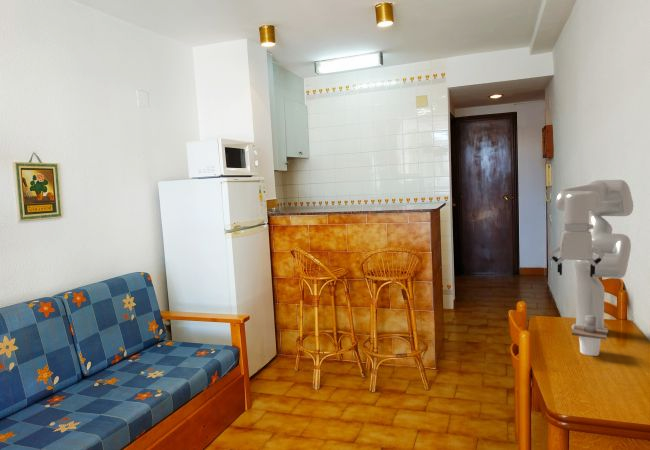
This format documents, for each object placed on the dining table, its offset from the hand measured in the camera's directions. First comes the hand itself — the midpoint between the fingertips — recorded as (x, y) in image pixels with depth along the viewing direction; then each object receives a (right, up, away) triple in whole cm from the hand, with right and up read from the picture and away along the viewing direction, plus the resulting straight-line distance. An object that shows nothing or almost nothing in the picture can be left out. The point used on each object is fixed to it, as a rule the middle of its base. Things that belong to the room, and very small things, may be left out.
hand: (575, 275), depth 163 cm
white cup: (+2, -27, -4) cm, 27 cm away
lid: (+2, -20, -5) cm, 20 cm away
